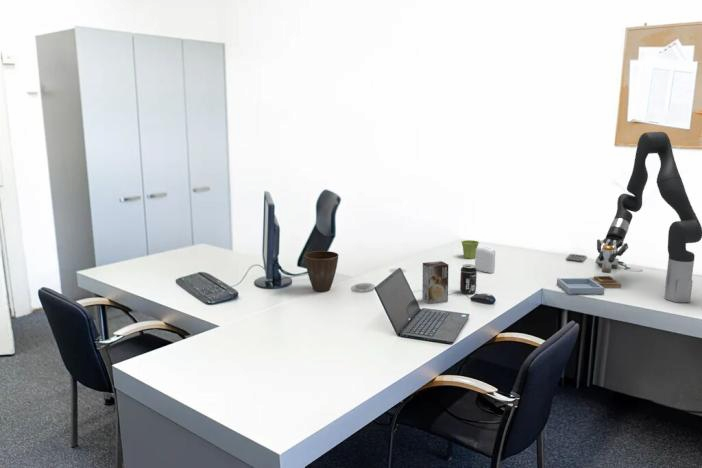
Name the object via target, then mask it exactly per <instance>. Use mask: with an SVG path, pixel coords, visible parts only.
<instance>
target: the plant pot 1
mask: <svg viewBox="0 0 702 468" xmlns="http://www.w3.org/2000/svg"><path fill="white" fill-rule="evenodd" d="M304 261H305V262H304V263H305V266H306V271H307V275H308V278H309V279H308V280H309V281H310V284H311V287H312V291H314V292H317V293H318V292H319V293H325V292H329V291H330V290H331V288H332V285H333V282H334V281H335V280H334V279H335V275H336V272H337V268H338V261H339V253H337V252H335V251H330V250H315V251H310V252H307V253H305V254H304Z"/></svg>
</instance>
